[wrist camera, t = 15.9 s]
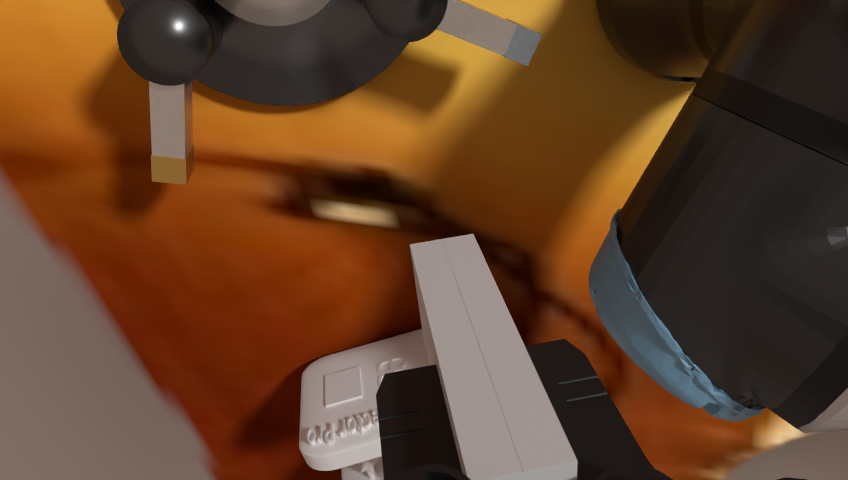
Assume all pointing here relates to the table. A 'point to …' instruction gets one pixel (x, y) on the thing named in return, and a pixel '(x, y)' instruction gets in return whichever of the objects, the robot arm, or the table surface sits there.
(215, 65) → the tribrach base
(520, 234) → the table surface
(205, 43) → the screw
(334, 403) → the cable organizer
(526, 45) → the screw
